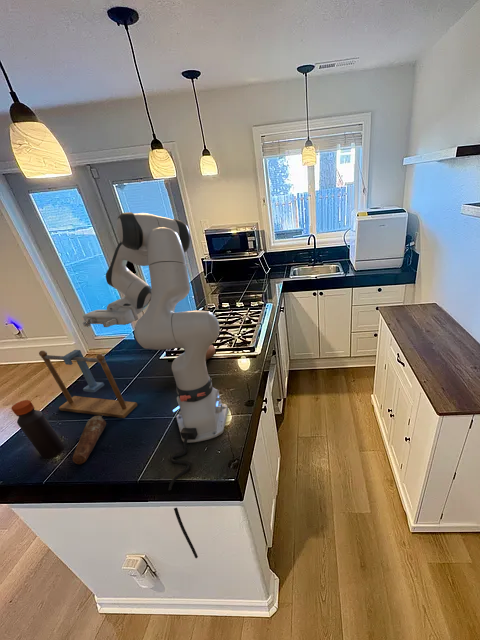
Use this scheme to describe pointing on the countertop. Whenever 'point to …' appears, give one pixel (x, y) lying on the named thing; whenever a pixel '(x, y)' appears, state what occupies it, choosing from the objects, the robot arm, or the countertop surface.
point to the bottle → (37, 429)
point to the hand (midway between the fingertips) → (94, 325)
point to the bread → (88, 439)
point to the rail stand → (85, 403)
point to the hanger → (83, 371)
